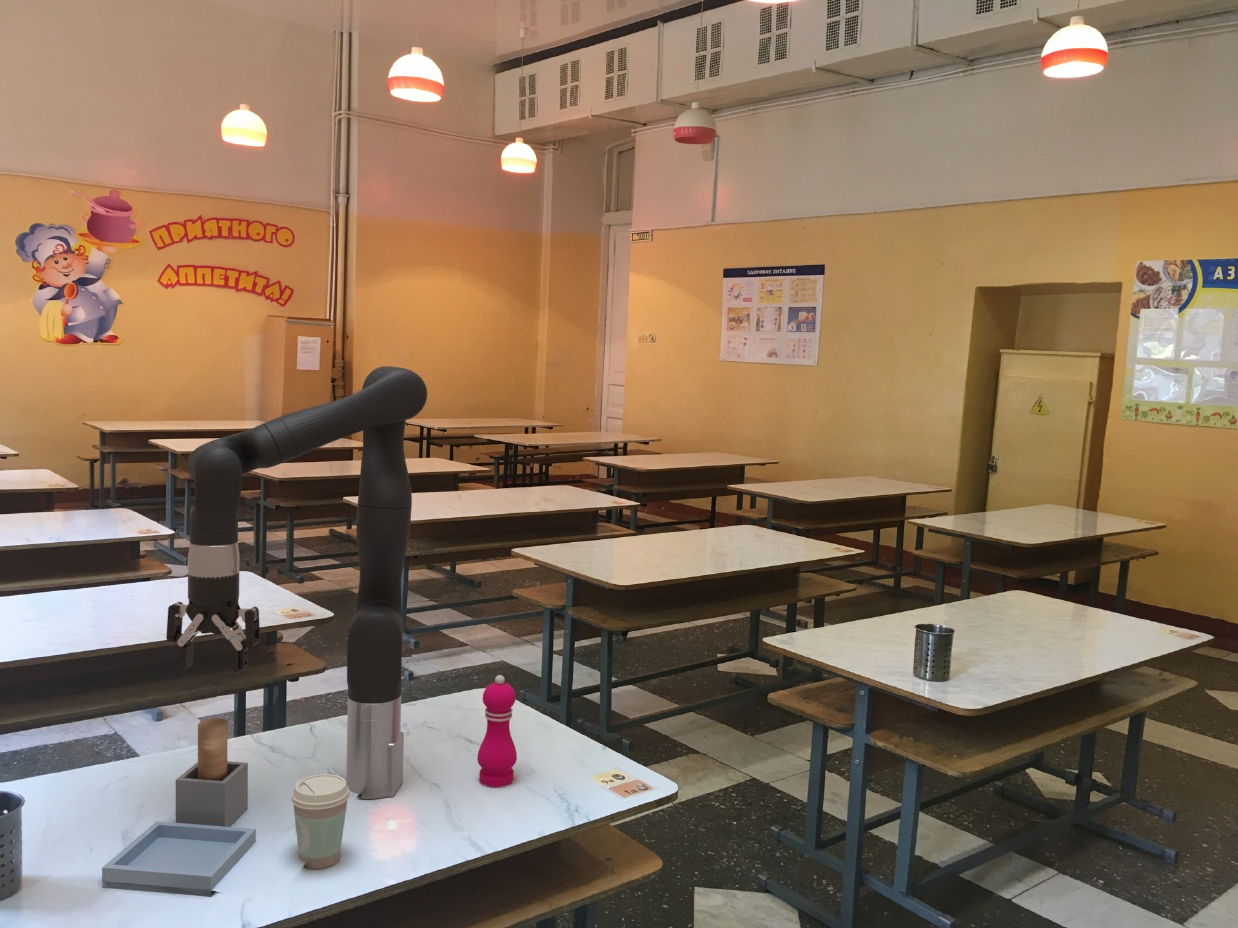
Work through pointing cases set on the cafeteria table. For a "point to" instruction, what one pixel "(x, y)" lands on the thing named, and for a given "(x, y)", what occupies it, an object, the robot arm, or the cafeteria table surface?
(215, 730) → the walnut peg
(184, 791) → the grey square frame
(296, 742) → the cafeteria table surface
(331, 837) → the coffee cup
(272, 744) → the cafeteria table surface
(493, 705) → the pepper mill
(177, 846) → the tray
